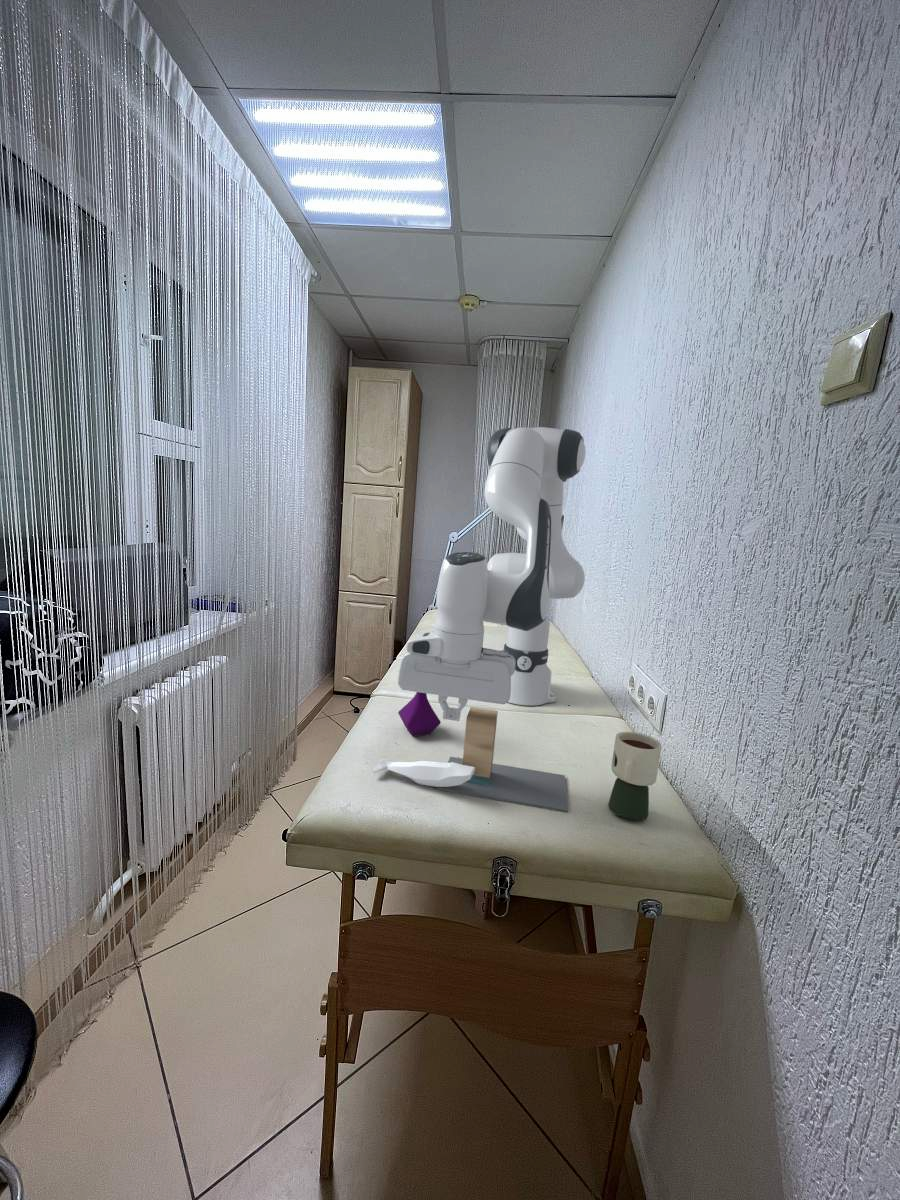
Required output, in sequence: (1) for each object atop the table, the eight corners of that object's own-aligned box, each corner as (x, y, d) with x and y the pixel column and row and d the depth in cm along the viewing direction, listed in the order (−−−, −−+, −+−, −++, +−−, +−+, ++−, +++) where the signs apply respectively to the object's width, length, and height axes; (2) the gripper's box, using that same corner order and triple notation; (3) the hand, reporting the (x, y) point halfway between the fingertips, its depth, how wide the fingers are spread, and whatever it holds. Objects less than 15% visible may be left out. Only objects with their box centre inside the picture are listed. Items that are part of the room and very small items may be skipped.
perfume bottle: (440, 737, 107) (446, 656, 104) (406, 740, 104) (412, 656, 101) (428, 723, 114) (434, 646, 111) (396, 725, 111) (402, 647, 108)
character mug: (614, 792, 90) (624, 724, 88) (656, 807, 86) (667, 736, 84) (596, 819, 81) (607, 744, 79) (642, 837, 77) (654, 759, 75)
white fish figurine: (469, 797, 82) (468, 775, 82) (371, 782, 88) (370, 761, 87) (478, 782, 87) (477, 760, 87) (385, 768, 93) (384, 748, 93)
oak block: (465, 767, 94) (470, 707, 92) (491, 772, 93) (497, 710, 91) (460, 780, 89) (466, 716, 87) (488, 785, 88) (495, 721, 86)
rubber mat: (450, 758, 98) (450, 756, 98) (564, 777, 94) (564, 775, 94) (437, 789, 86) (437, 787, 86) (567, 812, 82) (567, 810, 82)
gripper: (517, 648, 89) (510, 721, 92) (407, 634, 93) (402, 705, 95) (515, 656, 83) (507, 734, 85) (397, 641, 87) (392, 717, 89)
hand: (451, 719), depth 90 cm, fingers closed
